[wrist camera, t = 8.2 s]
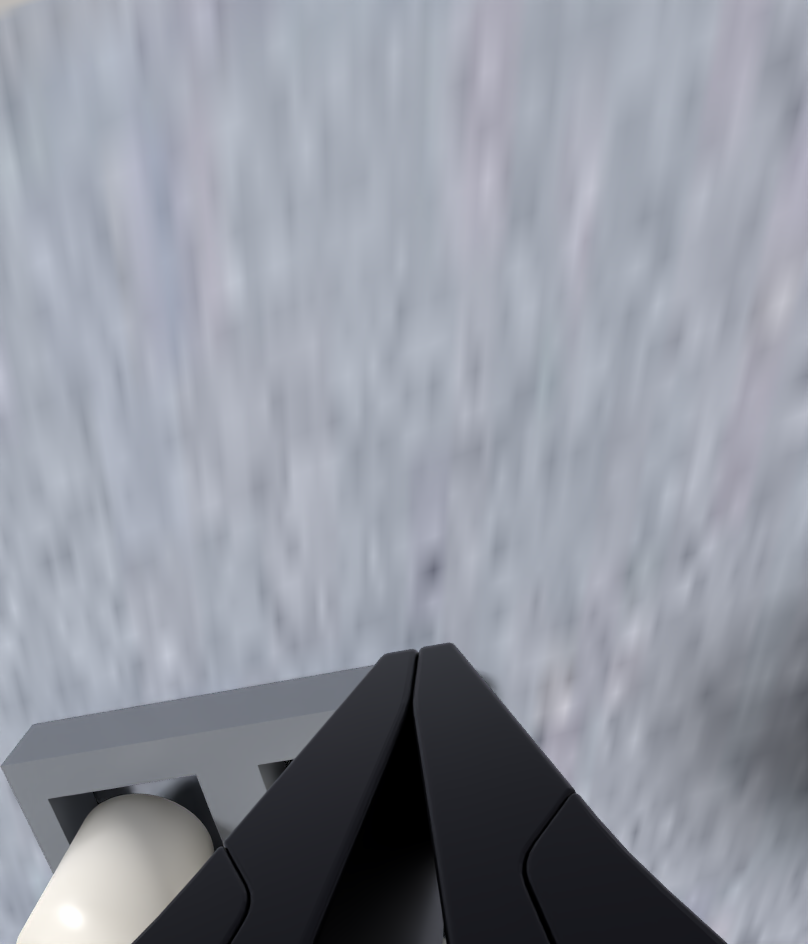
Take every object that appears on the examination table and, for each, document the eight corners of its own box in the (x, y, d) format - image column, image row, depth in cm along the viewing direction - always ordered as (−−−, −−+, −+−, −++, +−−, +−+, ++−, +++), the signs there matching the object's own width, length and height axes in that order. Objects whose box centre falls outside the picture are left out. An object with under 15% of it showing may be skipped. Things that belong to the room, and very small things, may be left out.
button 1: (190, 783, 23) (143, 894, 20) (231, 888, 25) (195, 1010, 21) (59, 804, 24) (-10, 916, 20) (107, 906, 25) (50, 1029, 21)
